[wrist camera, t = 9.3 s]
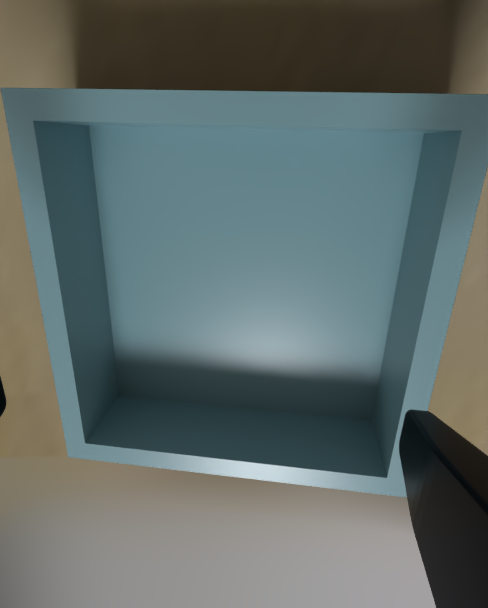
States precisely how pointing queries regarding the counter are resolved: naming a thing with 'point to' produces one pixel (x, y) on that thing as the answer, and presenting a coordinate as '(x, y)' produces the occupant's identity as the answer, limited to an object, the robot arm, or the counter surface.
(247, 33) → the counter surface
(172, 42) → the counter surface
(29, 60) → the counter surface
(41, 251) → the bin
